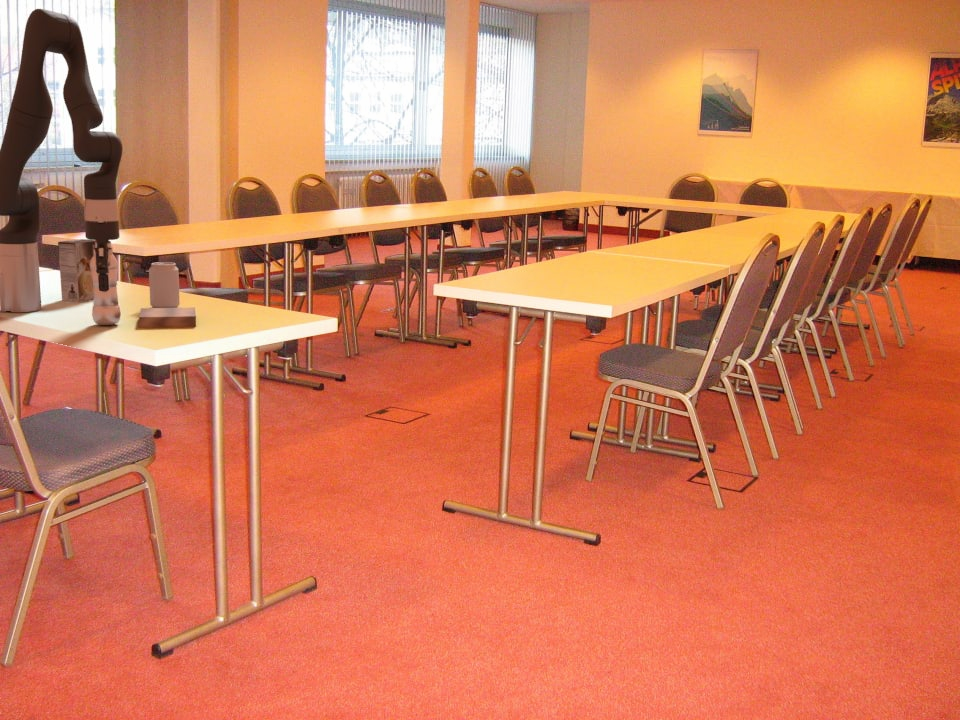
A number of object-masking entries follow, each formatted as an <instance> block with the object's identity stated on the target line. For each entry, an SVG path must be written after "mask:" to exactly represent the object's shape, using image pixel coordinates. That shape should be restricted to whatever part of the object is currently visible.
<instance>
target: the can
mask: <svg viewBox="0 0 960 720" xmlns="http://www.w3.org/2000/svg"><path fill="white" fill-rule="evenodd" d="M148 281H149V282H148V283H149V304H150V307H151V308H179V306H180V304H181V303H180V302H181V301H180V276H179V268H178V267H177V266H176V263H175V262H171V261H170V262H169V261H168V262H167V261H159V262H152V263H151V264H150V268H149V269H148Z"/></svg>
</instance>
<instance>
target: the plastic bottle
mask: <svg viewBox="0 0 960 720" xmlns="http://www.w3.org/2000/svg"><path fill="white" fill-rule="evenodd" d="M107 243H108V248H113V246H112V240H109V241H108V242H107ZM111 246H112V247H111ZM95 248H97V241H95ZM117 259H118V258H116V256H115V255H114V254H113V253H112V255H111V266H110V267H109V275H108V277H109V290H108V291H100V290H99V282H98V275H97V272H96V265H95V255H93V257H92V259H91V261H90V268H91V274H92V280H93V286H94V288H93V289H94V299H92V300H93V305H92V311H91V312H92V313H91V316H92V320H93V322H94V324H97V325H101V326H106V327H107V326H112V325H115V324H119V322H120V320H121V309H120V305H119V297H118V283H117V282H118V270H119V262H118V260H117ZM107 261H108V259H107ZM100 268H105V266H100Z"/></svg>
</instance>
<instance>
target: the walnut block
mask: <svg viewBox="0 0 960 720" xmlns="http://www.w3.org/2000/svg"><path fill="white" fill-rule="evenodd" d="M138 325H139V326H138V327H139V328H179V327H180V328H181V327H182V328H183V327H185V328H186V327H188V328H189V327H190V328H191V327H197V316H196V307H177V308H153V307H146V308H145V307H144V308H143V307H142V308H140V311H139V315H138Z"/></svg>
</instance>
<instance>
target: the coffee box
mask: <svg viewBox="0 0 960 720" xmlns="http://www.w3.org/2000/svg"><path fill="white" fill-rule="evenodd" d="M95 241H96V240H90V239H87V238H86V239H85V238H84V239H81V238H80V239H72V240H64V241H63V240H61V241H58V242H57V244H58V245H57V246H58V249H57V250H58V260H59V261H58V263H59V275H60V290H61V293H60V294H61V301H66V300H69V302H78V303H81V302H85V301H91V300H94V289H93V288H94V286H93V280H92V274H91V268H90V261H91V259H92V257H93V255H94V248H95Z"/></svg>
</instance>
